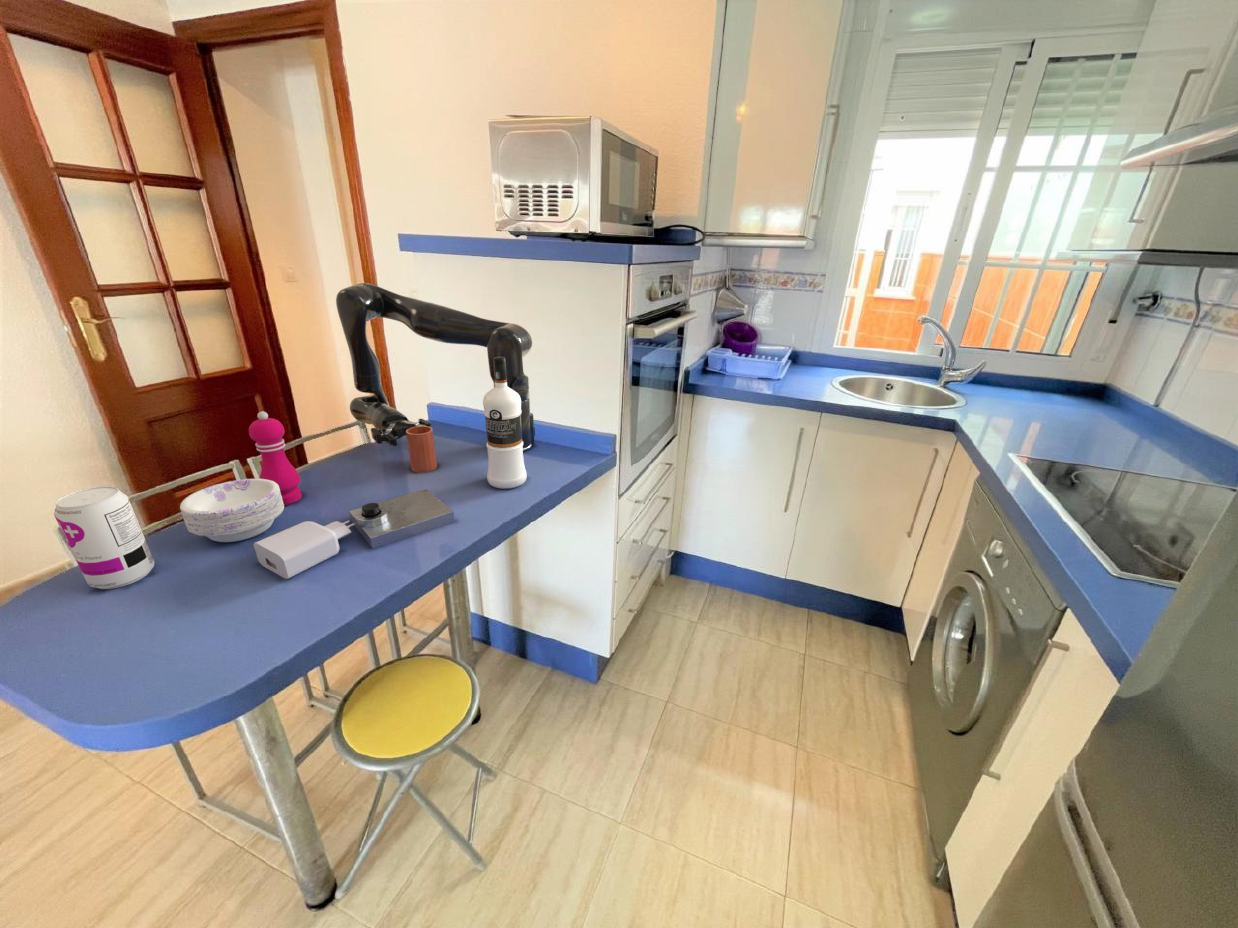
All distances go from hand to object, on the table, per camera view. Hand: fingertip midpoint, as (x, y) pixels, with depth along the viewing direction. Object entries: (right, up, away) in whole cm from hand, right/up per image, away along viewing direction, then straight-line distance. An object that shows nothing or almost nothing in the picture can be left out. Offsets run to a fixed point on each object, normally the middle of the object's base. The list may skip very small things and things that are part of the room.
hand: (412, 438), depth 128 cm
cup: (+4, -7, -2) cm, 8 cm away
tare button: (+5, -16, -31) cm, 35 cm away
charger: (-3, -23, -36) cm, 43 cm away
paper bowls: (-21, -20, -30) cm, 42 cm away
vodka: (+26, -11, -7) cm, 29 cm away
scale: (+9, -18, -26) cm, 33 cm away
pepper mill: (-20, -14, -19) cm, 31 cm away
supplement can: (-30, -25, -44) cm, 59 cm away
